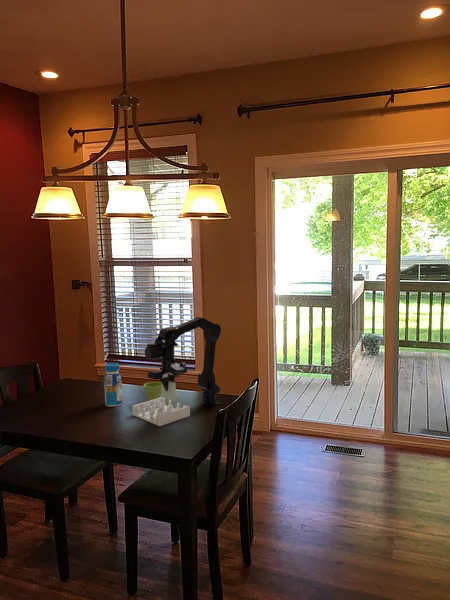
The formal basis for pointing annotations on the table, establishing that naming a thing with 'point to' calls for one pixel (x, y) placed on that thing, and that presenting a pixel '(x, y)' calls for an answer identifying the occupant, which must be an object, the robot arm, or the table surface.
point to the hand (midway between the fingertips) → (168, 390)
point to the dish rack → (160, 411)
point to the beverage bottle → (112, 385)
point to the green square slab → (169, 391)
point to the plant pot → (153, 390)
